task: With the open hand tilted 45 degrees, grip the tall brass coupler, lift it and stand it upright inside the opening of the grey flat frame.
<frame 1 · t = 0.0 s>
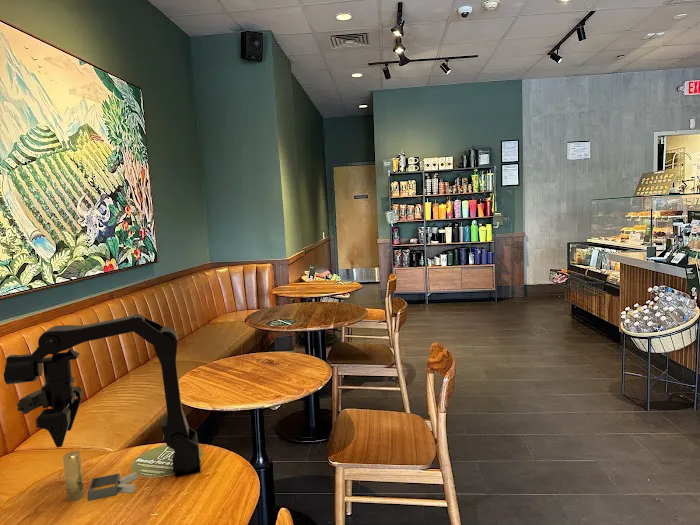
hand: (64, 438, 114), 14 cm above the table, tool pointing down, fingers open, 9 cm apart
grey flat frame: (104, 490, 116), on the table
coupler: (75, 496, 113), on the table
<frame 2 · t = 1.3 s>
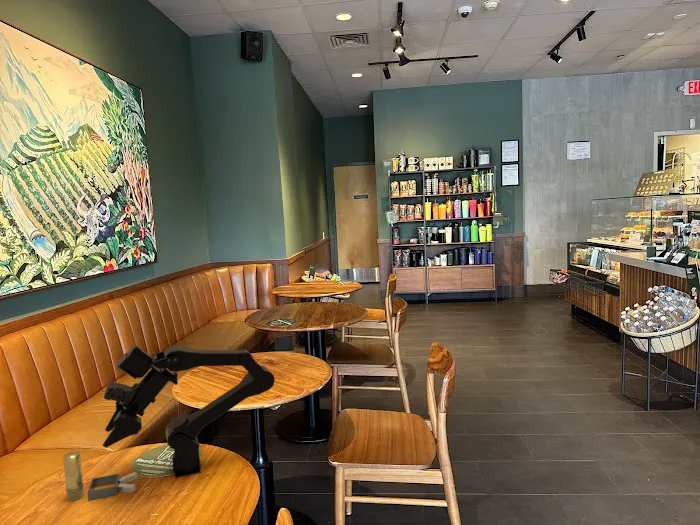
hand: (105, 438, 115), 13 cm above the table, tool tilted 45°, fingers open, 9 cm apart
nothing on the table moved.
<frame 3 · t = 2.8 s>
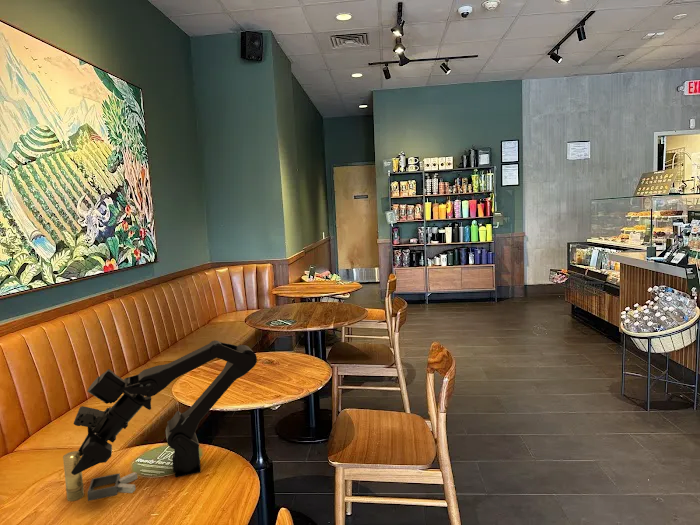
hand: (75, 464, 113), 8 cm above the table, tool tilted 45°, fingers open, 9 cm apart
nothing on the table moved.
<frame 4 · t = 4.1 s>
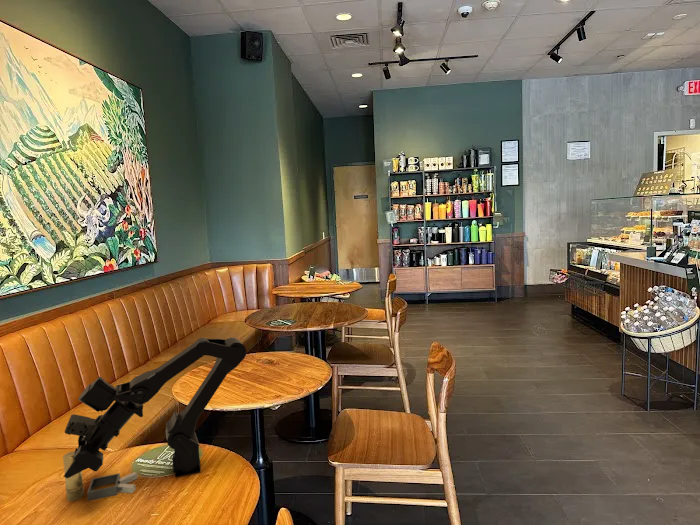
hand: (66, 473, 112), 7 cm above the table, tool tilted 45°, fingers closed on coupler, 4 cm apart
coupler: (75, 496, 113), on the table, touching gripper
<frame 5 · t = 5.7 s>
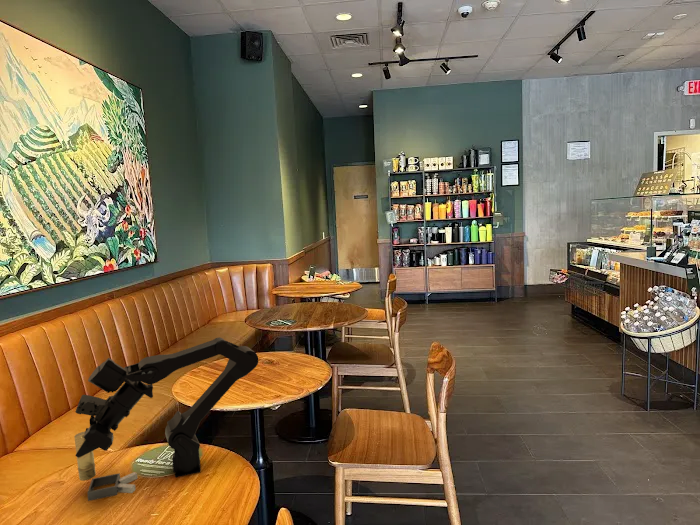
hand: (78, 452, 113), 11 cm above the table, tool tilted 45°, fingers closed on coupler, 4 cm apart
coupler: (87, 476, 114), point 5 cm above the table, touching gripper
when the fingers open (8 cm above the table, at t = 7.2 s): coupler drops 1 cm, resting in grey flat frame.
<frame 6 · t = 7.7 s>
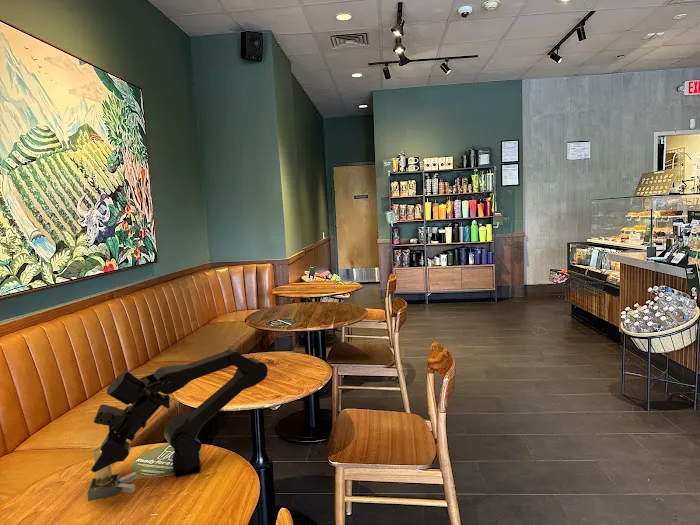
hand: (95, 461, 114), 8 cm above the table, tool tilted 45°, fingers open, 9 cm apart
coupler: (105, 490, 116), resting in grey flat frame
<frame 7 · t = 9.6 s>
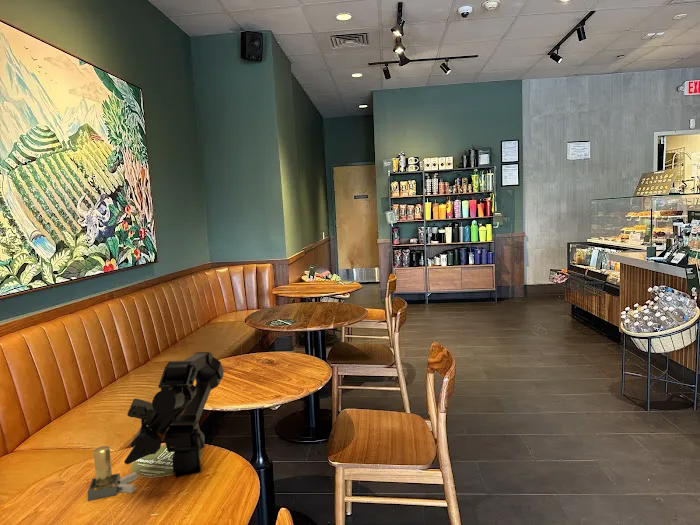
hand: (128, 454, 117), 8 cm above the table, tool tilted 45°, fingers open, 9 cm apart
nothing on the table moved.
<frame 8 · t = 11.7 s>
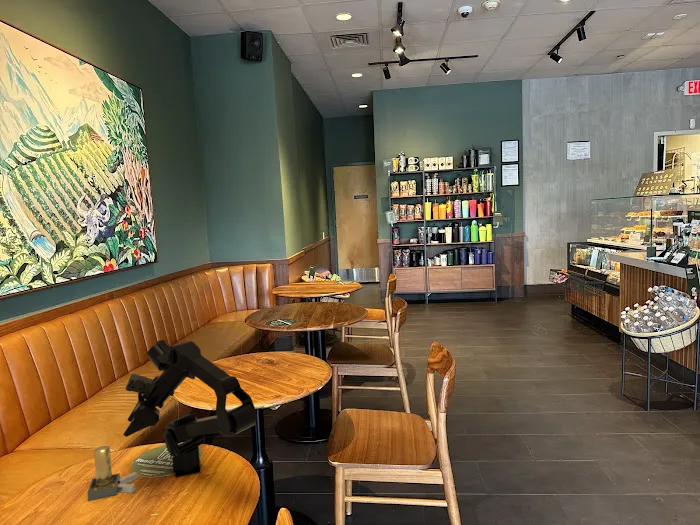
hand: (126, 428, 120), 14 cm above the table, tool tilted 45°, fingers open, 9 cm apart
nothing on the table moved.
at the end: coupler 0.1 cm off-centre on the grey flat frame, point 0.0 cm above the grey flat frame's base; coupler tilted 1°; the gripper is holding nothing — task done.
